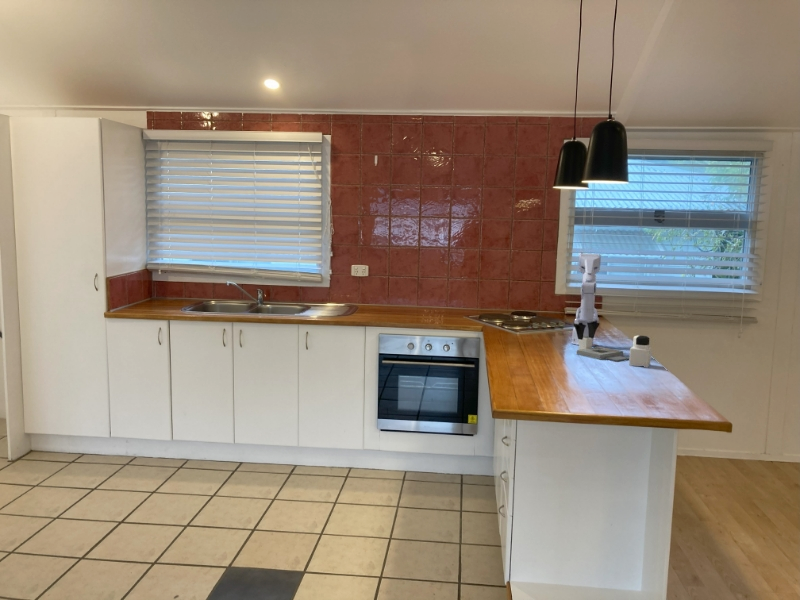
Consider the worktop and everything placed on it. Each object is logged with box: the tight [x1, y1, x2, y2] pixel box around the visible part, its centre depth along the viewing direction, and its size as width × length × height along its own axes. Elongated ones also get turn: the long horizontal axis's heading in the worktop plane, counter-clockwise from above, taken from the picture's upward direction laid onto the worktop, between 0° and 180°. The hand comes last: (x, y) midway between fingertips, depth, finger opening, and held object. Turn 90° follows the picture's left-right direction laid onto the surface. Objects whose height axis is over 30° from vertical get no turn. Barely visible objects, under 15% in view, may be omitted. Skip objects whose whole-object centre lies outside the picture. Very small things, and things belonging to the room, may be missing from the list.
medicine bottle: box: [628, 335, 652, 368], centre depth 246 cm, size 7×7×12 cm
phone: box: [605, 356, 630, 363], centre depth 256 cm, size 5×9×1 cm, turn 123°
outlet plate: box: [576, 346, 624, 361], centre depth 264 cm, size 12×16×2 cm
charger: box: [578, 335, 593, 350], centre depth 273 cm, size 4×4×7 cm
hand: (585, 338), depth 273 cm, fingers open, 7 cm apart
